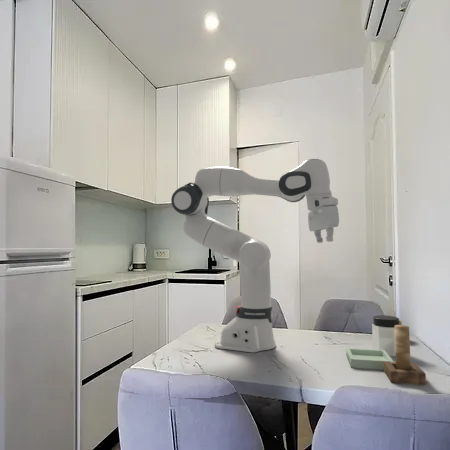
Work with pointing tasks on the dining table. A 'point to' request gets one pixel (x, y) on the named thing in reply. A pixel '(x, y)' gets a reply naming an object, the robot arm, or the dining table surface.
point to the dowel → (402, 347)
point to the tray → (367, 358)
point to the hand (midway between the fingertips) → (324, 242)
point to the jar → (384, 333)
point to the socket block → (405, 374)
